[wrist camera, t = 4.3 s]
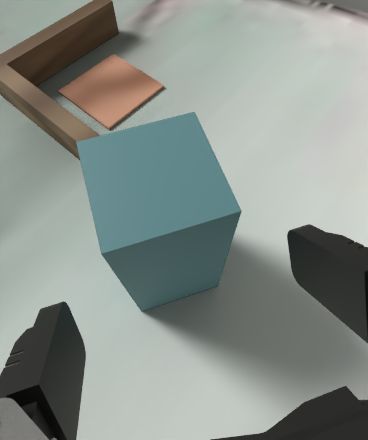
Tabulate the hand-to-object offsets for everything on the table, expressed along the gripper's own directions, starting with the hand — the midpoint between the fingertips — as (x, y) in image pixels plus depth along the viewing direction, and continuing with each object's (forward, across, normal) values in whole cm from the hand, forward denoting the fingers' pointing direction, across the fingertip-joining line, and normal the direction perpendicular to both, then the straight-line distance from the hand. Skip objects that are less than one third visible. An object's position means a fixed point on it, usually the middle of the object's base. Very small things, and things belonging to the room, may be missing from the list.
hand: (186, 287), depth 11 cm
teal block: (+9, 0, +3) cm, 10 cm away
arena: (+21, 0, -9) cm, 23 cm away
